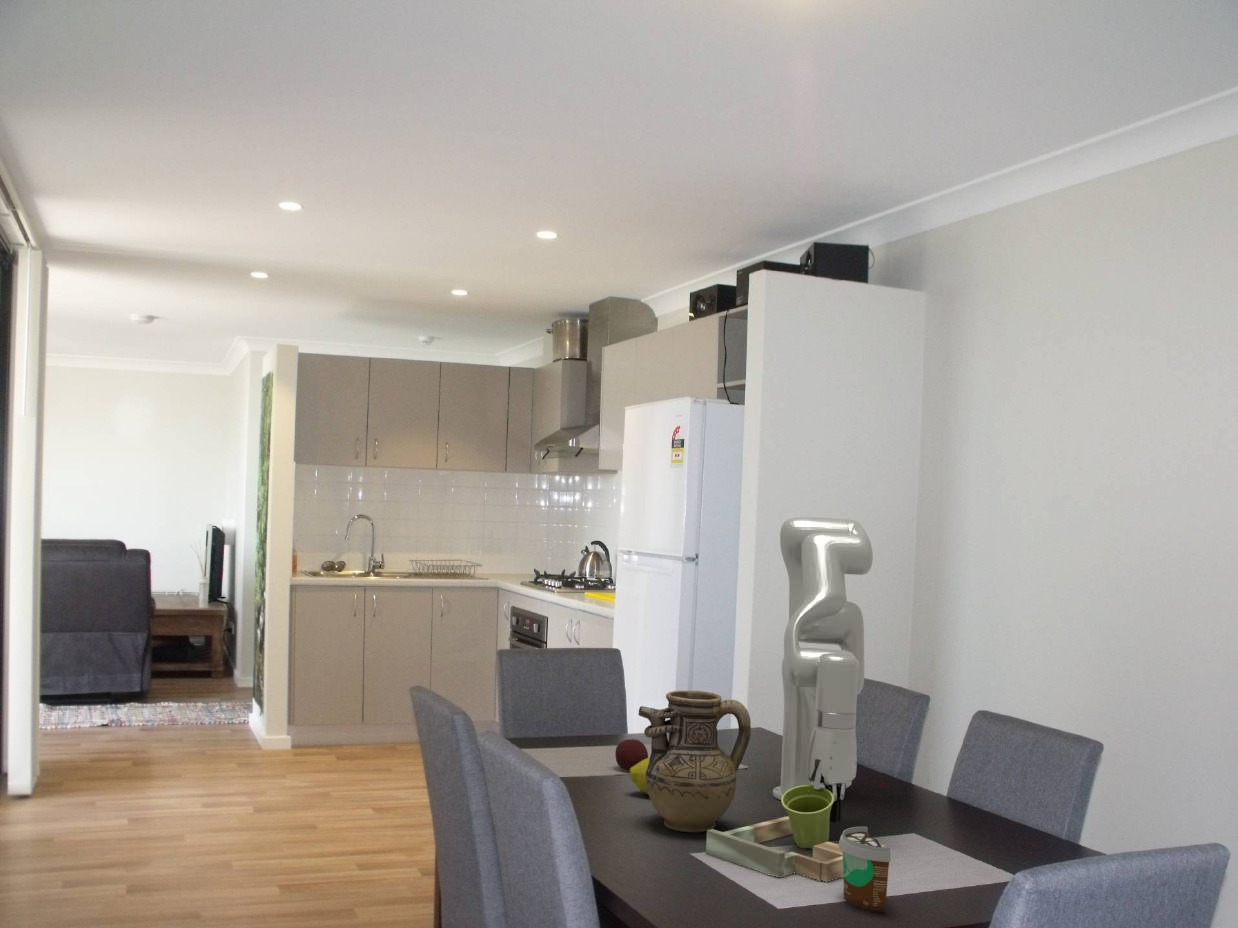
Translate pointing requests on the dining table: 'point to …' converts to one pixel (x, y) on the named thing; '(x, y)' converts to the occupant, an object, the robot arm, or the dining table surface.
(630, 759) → the dark red ball
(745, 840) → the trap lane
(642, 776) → the lemon
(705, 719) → the decorative pitcher
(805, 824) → the plant pot
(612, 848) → the dining table surface
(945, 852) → the dining table surface
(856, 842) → the food container
